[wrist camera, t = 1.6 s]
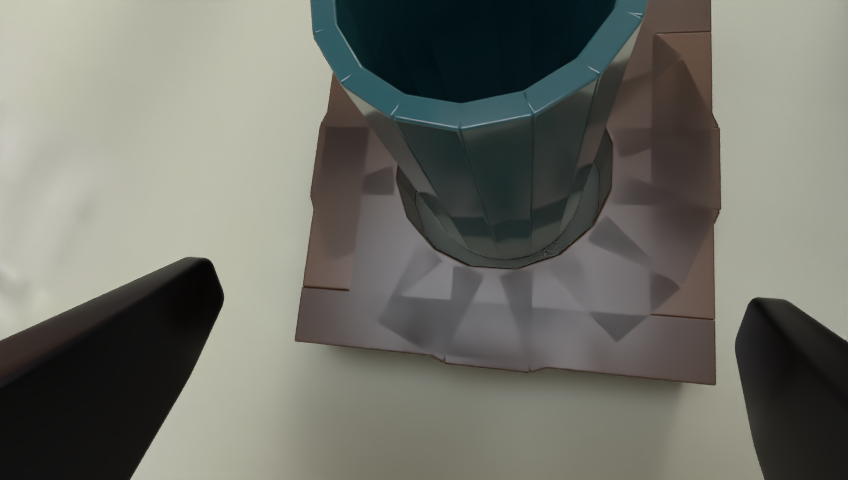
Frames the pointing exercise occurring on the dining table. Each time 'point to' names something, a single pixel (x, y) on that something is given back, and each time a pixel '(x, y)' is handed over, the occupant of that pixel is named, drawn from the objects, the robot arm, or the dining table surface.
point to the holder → (553, 277)
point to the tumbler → (486, 103)
